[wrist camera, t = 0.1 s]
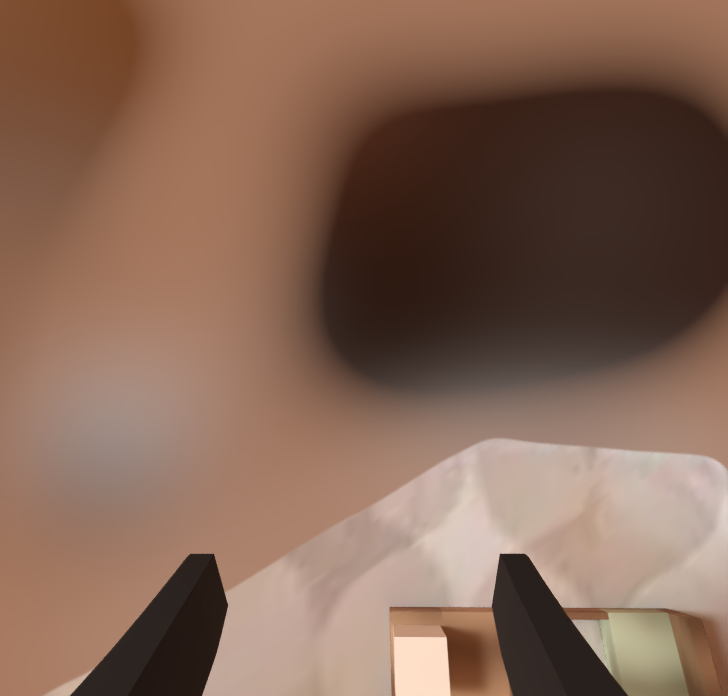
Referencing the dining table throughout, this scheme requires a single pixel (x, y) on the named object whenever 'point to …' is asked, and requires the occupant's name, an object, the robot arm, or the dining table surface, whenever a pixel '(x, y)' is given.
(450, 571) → the dining table surface
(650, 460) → the dining table surface
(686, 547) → the dining table surface
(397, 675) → the block
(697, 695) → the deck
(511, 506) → the dining table surface
